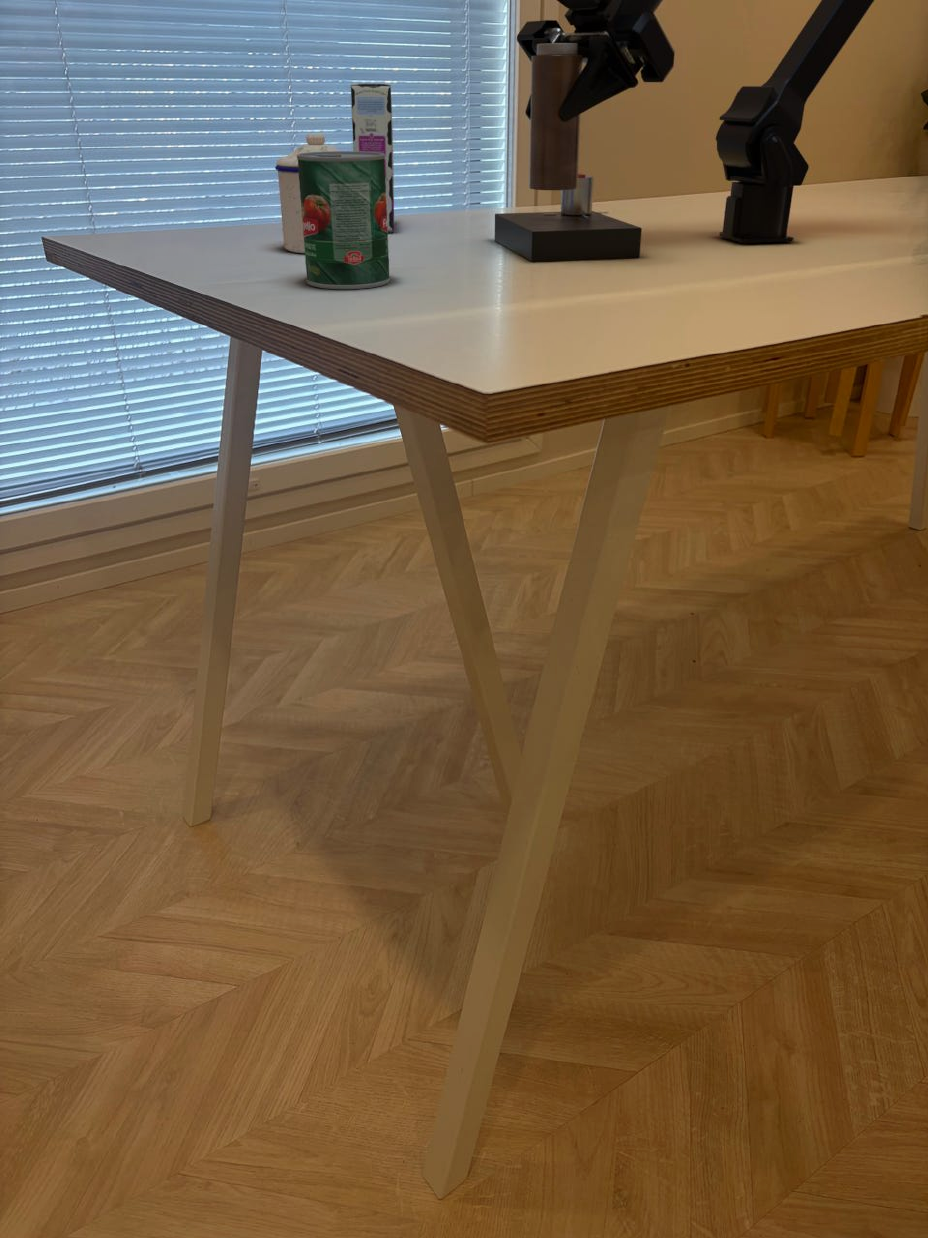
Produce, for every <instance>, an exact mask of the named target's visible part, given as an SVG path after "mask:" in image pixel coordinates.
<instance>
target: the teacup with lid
mask: <svg viewBox="0 0 928 1238" xmlns="http://www.w3.org/2000/svg"><path fill="white" fill-rule="evenodd" d="M305 142H306V144H303V145H300V146H298V147H297V148H296V149H294V150H293V151H292V152H291V153H289V154H288V155H286V156H283V157H281V158H278V159H277V161H276V163H275V164H276V165H275V167H274V168H275V170H276V171H277V177H278V178H277V179H278V188H279V189H278V191H279V201H280V213H281V223H282V238H283V247H284V249H286V250H287V251H289V252H292V253H297V254H305V247H304V236H303V225H302V224H303V221H302V209H301V198H300V188H299V187H300V183H299V171H298V159H297V154H300V153H308V152H326V151H340V150H339V149H338V148H337V147H335V146H333V145H331V144H325V143H326V137H325V135H324V133H323V134H322V133H309V134H307V135H306V137H305Z"/></svg>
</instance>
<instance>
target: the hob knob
mask: <svg viewBox="0 0 928 1238" xmlns="http://www.w3.org/2000/svg"><path fill="white" fill-rule="evenodd" d="M594 182H595V177H594V175H591V174H590V175H589V174H585V173H581V172H578V185H577V188H576V189H571V190H561V196H560V212H561V214H563V215H571V216H582V215H590V214H592V211H593V198H594Z"/></svg>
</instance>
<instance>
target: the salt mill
mask: <svg viewBox="0 0 928 1238" xmlns="http://www.w3.org/2000/svg"><path fill="white" fill-rule="evenodd" d="M577 54H578V44H577V43H547V44H537V56H532V62H531V65H530V67H531V70H530V95H531V120H529V121H530V127H529V177H528V178H529V182H528V183H529V184H528V188H529V189H530V190H535V191H562V190H571V189H576V188H577V185H578V173H579V158H580V157H579V156H580V135H581V134H580V133H581V131H580V130H581V114H579V115H578V116H576V117H574V118H572V119H570V120H569V121H567V122H563V121H562V120H561V118H560V117H559V111H560V109H561V107H562V105H563V103H564V101H565V99H566V97H567V96H568V94H569V92H570V90H571V89H572V87H573V85H574V84H575V82H576V80H577V79H578V77H579V75H580V74H581V72H582V70H583V62H582V59H583V56H582V55H577Z"/></svg>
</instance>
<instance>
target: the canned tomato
mask: <svg viewBox="0 0 928 1238" xmlns="http://www.w3.org/2000/svg"><path fill="white" fill-rule="evenodd" d="M297 159H298V171H299V183H300V187H299V188H300V198H301V209H302V221H303V224H302V225H303V236H304V247H305V253H304V259H305V262H304V263H305V270H306V284H307V285H309V286H311V287H315V288H319V289H329V290H361V289H362V290H363V289H371V288H377V287H382V286H385V285H387V284H389V283H390V282H391V277H390V255H389V252H390V251H389V232H388V230H387V225H388V223H387V203H386V182H385V179H386V175H385V154H384V153H379V152H363V151H353V150H347V151H346V150H339V151H326V152H308V153H300V154H297Z"/></svg>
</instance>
